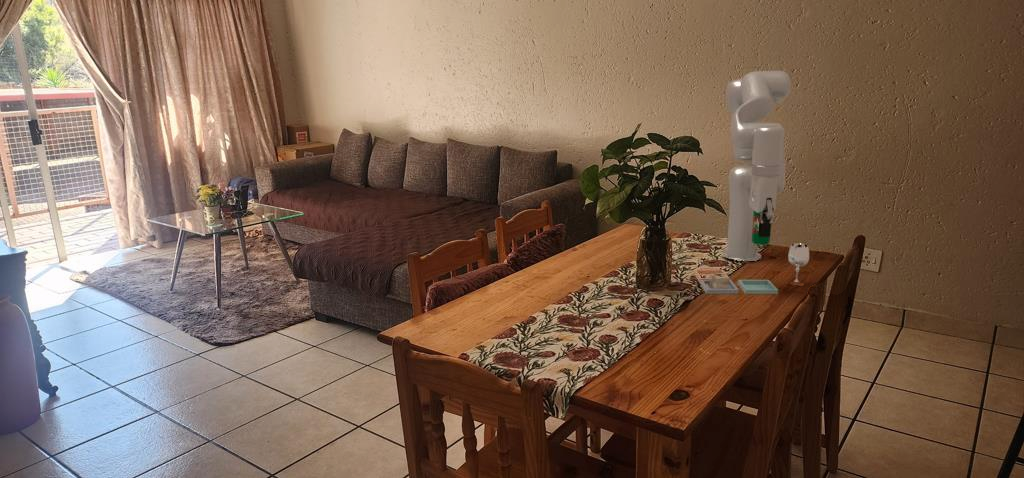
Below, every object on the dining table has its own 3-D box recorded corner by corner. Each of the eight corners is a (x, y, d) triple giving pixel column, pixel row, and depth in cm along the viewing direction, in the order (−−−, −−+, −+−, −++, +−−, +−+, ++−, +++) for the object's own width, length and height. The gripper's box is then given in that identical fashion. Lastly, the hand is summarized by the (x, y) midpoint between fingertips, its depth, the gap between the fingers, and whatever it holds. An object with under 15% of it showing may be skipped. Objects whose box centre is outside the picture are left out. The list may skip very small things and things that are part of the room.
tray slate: (699, 285, 198) (700, 279, 198) (730, 285, 198) (730, 279, 197) (706, 295, 190) (706, 289, 189) (738, 295, 189) (738, 289, 188)
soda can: (767, 240, 191) (770, 200, 188) (772, 245, 187) (775, 204, 183) (749, 240, 192) (752, 200, 189) (753, 245, 187) (756, 204, 184)
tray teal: (737, 285, 197) (737, 279, 197) (768, 285, 197) (768, 279, 196) (745, 295, 189) (745, 289, 188) (777, 295, 188) (778, 289, 188)
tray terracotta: (693, 275, 208) (694, 269, 207) (722, 275, 207) (723, 269, 207) (699, 284, 199) (699, 278, 199) (729, 284, 199) (730, 278, 198)
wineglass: (803, 288, 193) (807, 249, 190) (783, 285, 197) (786, 246, 194) (808, 283, 198) (812, 244, 195) (788, 279, 201) (792, 241, 198)
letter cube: (709, 287, 195) (709, 273, 194) (721, 285, 196) (722, 272, 195) (715, 291, 191) (716, 277, 190) (728, 290, 192) (729, 276, 191)
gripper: (743, 166, 192) (740, 226, 197) (760, 176, 176) (755, 242, 181) (770, 165, 192) (765, 226, 196) (789, 176, 175) (784, 241, 180)
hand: (761, 233), depth 188 cm, fingers closed on soda can, 5 cm apart
